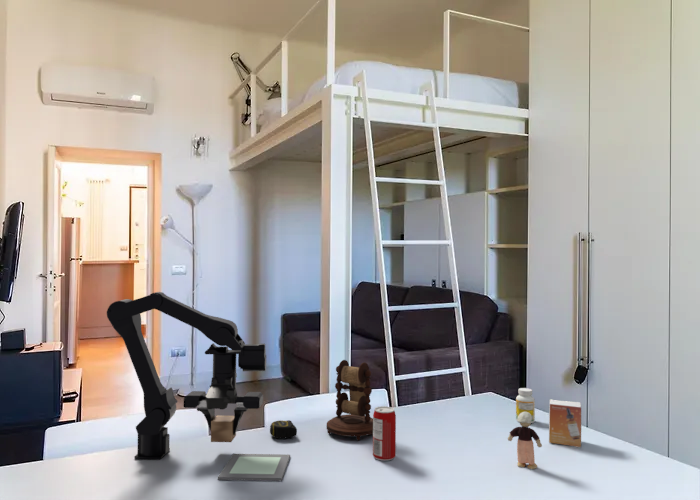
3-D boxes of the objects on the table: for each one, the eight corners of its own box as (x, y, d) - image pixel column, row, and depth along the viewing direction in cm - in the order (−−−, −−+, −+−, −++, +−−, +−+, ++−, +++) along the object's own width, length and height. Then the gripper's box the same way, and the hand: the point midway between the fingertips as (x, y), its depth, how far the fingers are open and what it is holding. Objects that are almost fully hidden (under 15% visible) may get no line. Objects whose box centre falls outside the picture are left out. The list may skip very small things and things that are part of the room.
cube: (210, 441, 129) (211, 421, 129) (216, 435, 134) (216, 415, 134) (231, 442, 129) (231, 421, 129) (235, 435, 134) (236, 415, 134)
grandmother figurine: (541, 464, 125) (541, 411, 125) (541, 471, 121) (541, 415, 122) (507, 460, 127) (508, 408, 128) (507, 466, 124) (507, 412, 124)
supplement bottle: (530, 425, 155) (530, 392, 156) (513, 421, 159) (513, 389, 159) (537, 421, 160) (537, 389, 160) (519, 417, 163) (519, 386, 163)
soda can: (398, 455, 130) (398, 406, 131) (390, 462, 125) (391, 412, 126) (377, 451, 133) (378, 403, 133) (369, 459, 128) (369, 409, 128)
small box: (548, 443, 140) (548, 403, 140) (549, 437, 145) (549, 398, 145) (581, 447, 137) (581, 407, 137) (580, 441, 142) (580, 401, 142)
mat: (217, 479, 115) (217, 476, 115) (233, 456, 129) (233, 453, 129) (281, 480, 115) (281, 477, 115) (290, 457, 129) (290, 454, 129)
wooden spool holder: (388, 430, 150) (389, 359, 150) (361, 445, 137) (362, 368, 138) (345, 421, 157) (345, 354, 158) (315, 435, 145) (316, 362, 145)
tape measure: (297, 439, 142) (297, 425, 142) (272, 442, 140) (272, 428, 140) (292, 431, 148) (292, 418, 148) (268, 434, 146) (268, 420, 146)
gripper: (176, 378, 124) (175, 445, 123) (255, 379, 123) (254, 446, 123) (191, 368, 135) (190, 429, 134) (264, 369, 134) (263, 431, 134)
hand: (223, 434), depth 131 cm, fingers closed on cube, 5 cm apart
